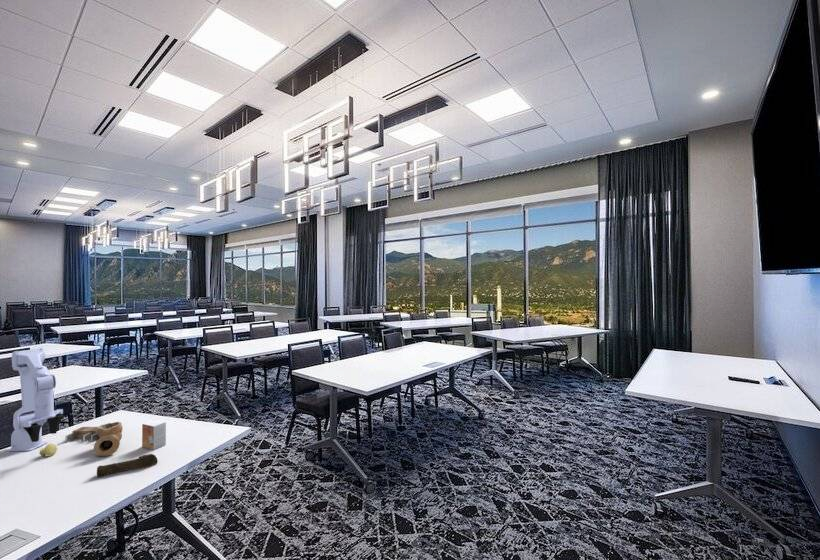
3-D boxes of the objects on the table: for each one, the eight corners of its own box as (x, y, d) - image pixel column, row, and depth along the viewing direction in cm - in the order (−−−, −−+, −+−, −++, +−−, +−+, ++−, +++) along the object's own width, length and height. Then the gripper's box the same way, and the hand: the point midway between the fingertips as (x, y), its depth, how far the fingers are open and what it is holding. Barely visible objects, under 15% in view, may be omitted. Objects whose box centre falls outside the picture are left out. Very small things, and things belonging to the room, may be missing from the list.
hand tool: (95, 479, 135) (95, 467, 135) (99, 474, 139) (99, 462, 139) (155, 467, 144) (155, 456, 144) (157, 463, 147) (157, 451, 147)
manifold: (64, 442, 167) (64, 434, 167) (82, 434, 176) (81, 426, 176) (103, 441, 167) (103, 434, 167) (118, 433, 176) (118, 426, 176)
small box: (141, 447, 161) (141, 423, 161) (154, 441, 166) (154, 419, 166) (153, 450, 158) (153, 426, 158) (166, 444, 163) (166, 421, 163)
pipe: (92, 460, 150) (92, 436, 150) (98, 445, 163) (98, 423, 163) (120, 454, 155) (120, 431, 155) (123, 440, 168) (123, 419, 168)
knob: (59, 452, 157) (59, 441, 157) (47, 458, 152) (47, 446, 152) (48, 452, 157) (48, 441, 157) (36, 458, 151) (36, 447, 151)
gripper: (36, 411, 143) (36, 445, 143) (69, 399, 158) (70, 429, 158) (18, 411, 143) (18, 445, 143) (53, 399, 157) (53, 430, 157)
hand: (44, 437), depth 150 cm, fingers open, 7 cm apart
